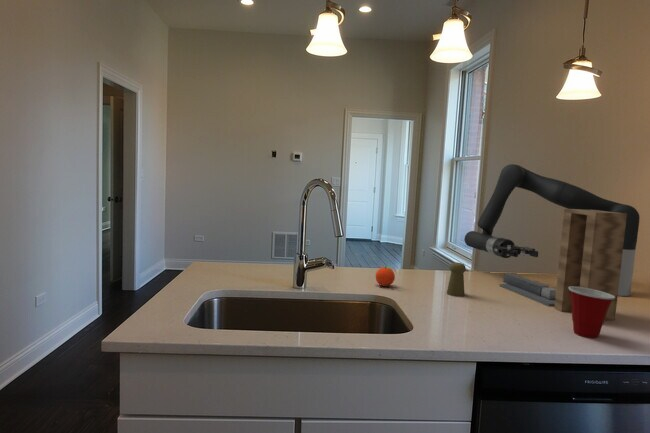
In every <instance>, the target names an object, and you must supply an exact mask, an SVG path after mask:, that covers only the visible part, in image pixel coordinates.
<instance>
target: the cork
mask: <svg viewBox="0 0 650 433" xmlns="http://www.w3.org/2000/svg"><path fill="white" fill-rule="evenodd" d="M466 268H467V267H466V264H464V263H463V262H452V263H450V265H449V271H450V276H449V281H448V284H447V290H446V294H447V295H448V296H451V297H459V298H460V297H462V298H463V297H465V280H464V279H465V278H464V274H465V272H466Z"/></svg>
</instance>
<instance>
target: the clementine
mask: <svg viewBox="0 0 650 433" xmlns="http://www.w3.org/2000/svg"><path fill="white" fill-rule="evenodd" d="M393 270H394V268H393V267H389V266H382V267H380V268H378V269H377V271H376V273H375V279H376V280H375V281H376V282H377V284H379V285H380V286H383V287H389V286H391V285H392V284H393V283H394V281H395V279H396V278H395V277H396V276H395V273H396V275H397V272H395V271H393Z"/></svg>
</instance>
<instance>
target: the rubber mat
mask: <svg viewBox="0 0 650 433" xmlns="http://www.w3.org/2000/svg"><path fill="white" fill-rule="evenodd" d="M499 287H501V288H503V289H506V290H507V291H511V292H513V293H516V294H518V295H521V296H523V297H525V298H528V299H530V300H533V301H535V302H537V303H539V304H542V305H544V306H547V307H555V299H548V298H545V297H543V296H538V295H535V294H532V293H530V292H527V291H525V290H522V289H519V288H517V287H514V286H512V285H509V284H507V283H499Z"/></svg>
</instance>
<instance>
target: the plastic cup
mask: <svg viewBox="0 0 650 433" xmlns="http://www.w3.org/2000/svg"><path fill="white" fill-rule="evenodd" d="M569 290H570V296H571V306H572V311H571V317H572V318H571V320H572V326H573V332H574V334H575V335H577V336H580V337H584V338H589V339H595V338H599V336H600V333H601V331H602V330H601V329H602V328H603V327H602V326H604V322H605V321H606V320H605V317H606V314H607V311H608V308H609V306H610V304H611V302H612V300H613V299H615V296H613V295H611V294H608V293H605V292H602V291H598V290H594V289H589V288H583V287H574V286H571V287H569Z"/></svg>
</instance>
